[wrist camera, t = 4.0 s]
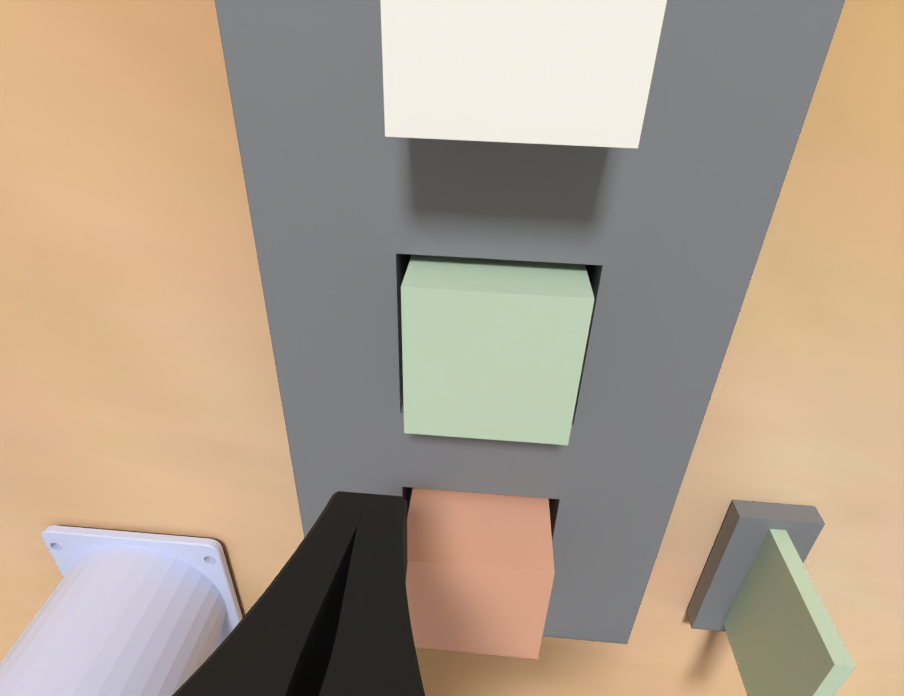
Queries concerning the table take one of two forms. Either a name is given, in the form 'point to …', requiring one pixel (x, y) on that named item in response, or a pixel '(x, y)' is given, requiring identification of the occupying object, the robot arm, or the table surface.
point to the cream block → (519, 69)
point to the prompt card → (771, 602)
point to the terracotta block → (478, 571)
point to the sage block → (493, 347)
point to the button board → (524, 239)
